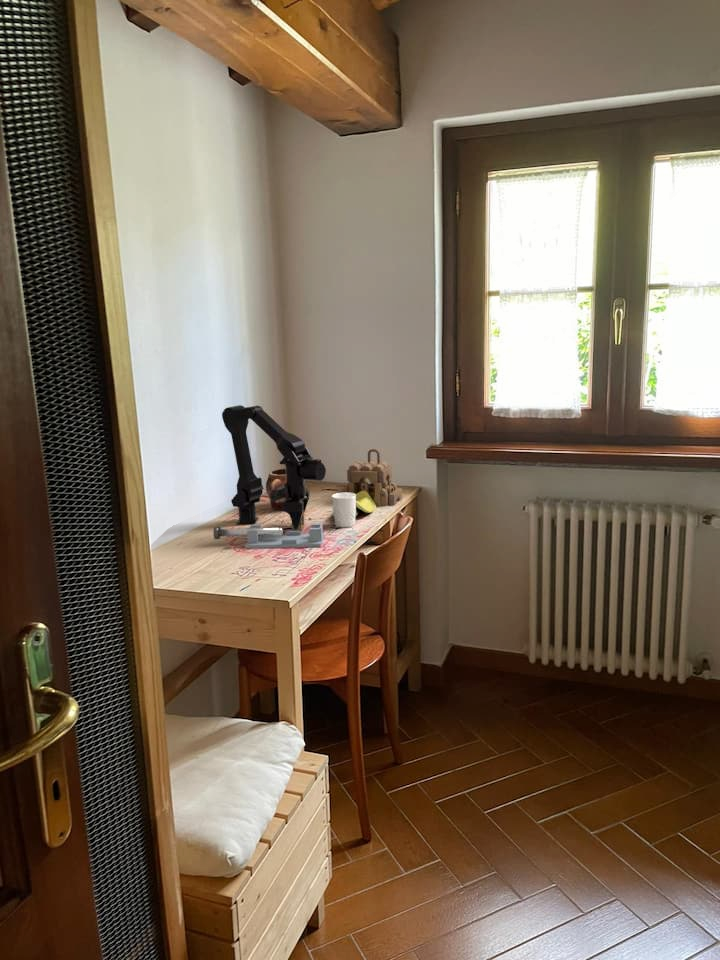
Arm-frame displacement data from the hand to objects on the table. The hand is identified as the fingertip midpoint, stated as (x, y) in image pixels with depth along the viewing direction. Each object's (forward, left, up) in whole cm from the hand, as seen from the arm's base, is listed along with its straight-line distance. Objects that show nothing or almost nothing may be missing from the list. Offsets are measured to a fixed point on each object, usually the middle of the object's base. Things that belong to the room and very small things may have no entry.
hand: (298, 524), depth 239 cm
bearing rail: (+14, -2, -2) cm, 14 cm away
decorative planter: (-26, -9, -2) cm, 28 cm away
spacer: (0, 0, -2) cm, 2 cm away
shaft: (+14, -13, 0) cm, 19 cm away
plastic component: (-18, +17, -2) cm, 24 cm away
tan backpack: (-34, +22, -2) cm, 41 cm away
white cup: (-4, +15, -2) cm, 16 cm away
